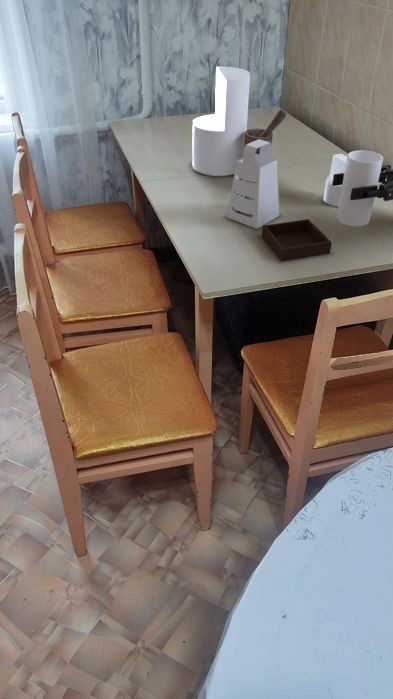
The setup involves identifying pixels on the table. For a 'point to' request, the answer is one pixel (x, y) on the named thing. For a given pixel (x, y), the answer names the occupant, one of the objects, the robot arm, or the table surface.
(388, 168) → the robot arm
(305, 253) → the tray
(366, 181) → the cup
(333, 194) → the base with upright slab
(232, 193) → the grater
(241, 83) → the cylinder
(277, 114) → the mortar and pestle
